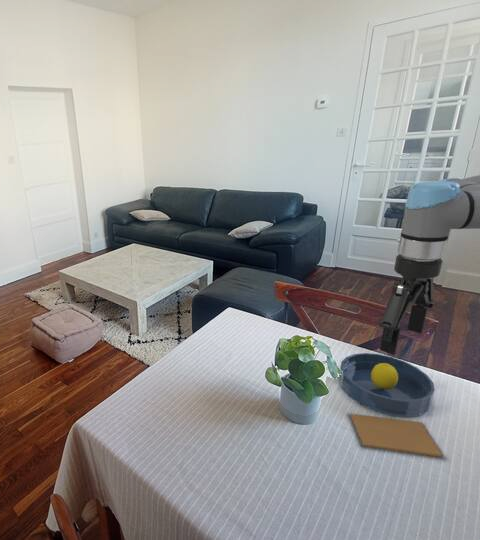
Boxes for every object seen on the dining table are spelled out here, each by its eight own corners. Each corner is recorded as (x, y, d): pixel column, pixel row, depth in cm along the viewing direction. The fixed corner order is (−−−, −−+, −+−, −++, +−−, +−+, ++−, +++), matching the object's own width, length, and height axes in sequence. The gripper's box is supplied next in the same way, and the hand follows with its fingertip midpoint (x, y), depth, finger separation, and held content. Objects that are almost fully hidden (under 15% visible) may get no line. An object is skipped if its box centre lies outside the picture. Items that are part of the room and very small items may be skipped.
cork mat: (420, 424, 78) (421, 422, 78) (441, 457, 70) (442, 455, 70) (350, 415, 83) (351, 413, 83) (363, 446, 75) (363, 443, 75)
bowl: (408, 371, 95) (412, 356, 93) (447, 423, 78) (452, 406, 76) (330, 364, 101) (332, 350, 99) (350, 411, 84) (353, 395, 82)
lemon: (371, 379, 93) (376, 355, 90) (397, 387, 89) (402, 362, 86) (366, 390, 89) (371, 365, 87) (392, 399, 86) (398, 373, 83)
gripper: (422, 239, 81) (406, 317, 88) (369, 267, 70) (356, 354, 77) (465, 245, 75) (444, 328, 82) (414, 277, 63) (395, 370, 71)
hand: (401, 341), depth 79 cm, fingers open, 13 cm apart
